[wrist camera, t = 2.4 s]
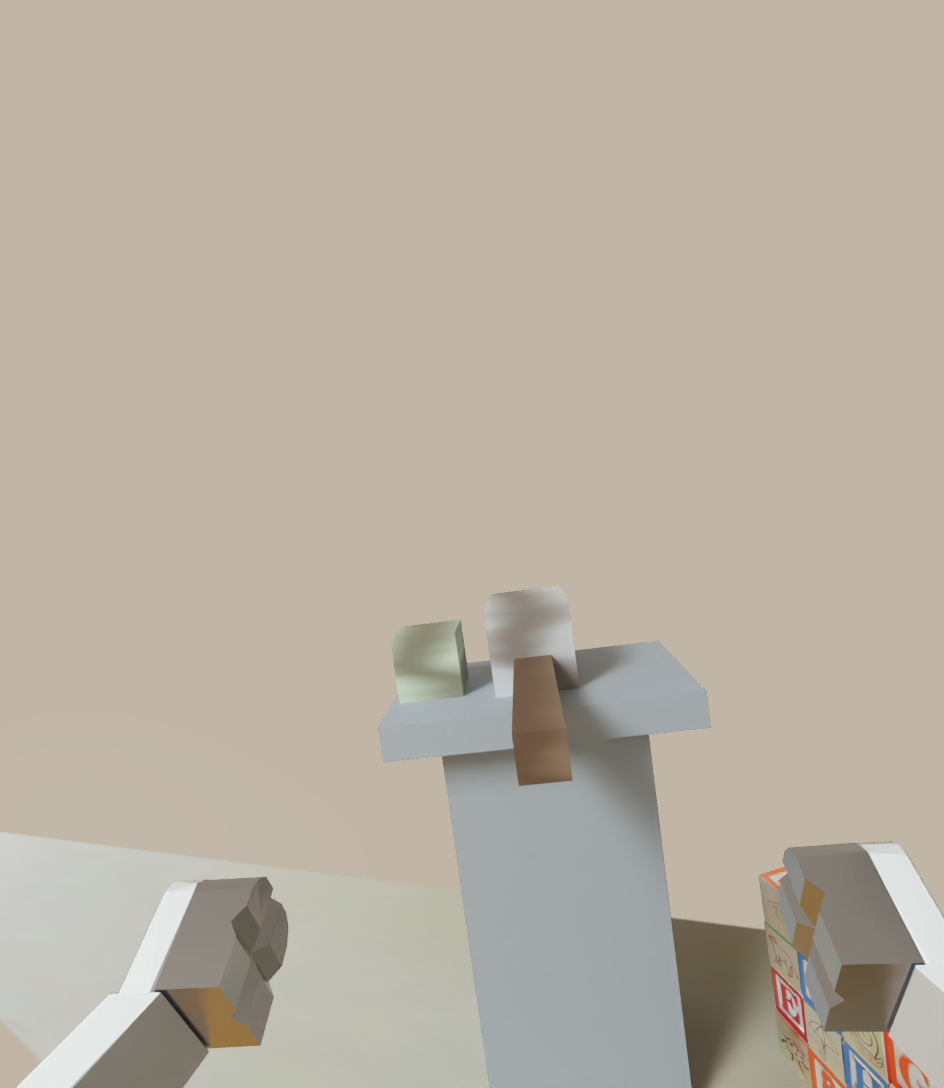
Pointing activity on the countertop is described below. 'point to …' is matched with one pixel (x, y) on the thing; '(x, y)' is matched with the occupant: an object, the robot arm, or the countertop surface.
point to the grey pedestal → (566, 872)
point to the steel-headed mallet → (534, 676)
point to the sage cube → (430, 661)
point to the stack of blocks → (820, 1057)
